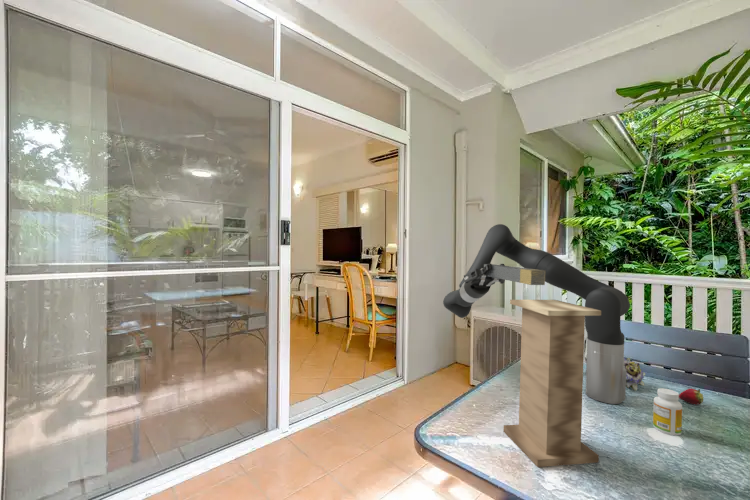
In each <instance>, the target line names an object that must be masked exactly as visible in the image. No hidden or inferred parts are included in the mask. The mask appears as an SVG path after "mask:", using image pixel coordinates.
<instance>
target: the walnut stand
mask: <svg viewBox="0 0 750 500" xmlns="http://www.w3.org/2000/svg"><path fill="white" fill-rule="evenodd" d="M509 305H512V306H513V305H514V306H517V307H519V308H521V309H522V310H521V336H520V337H521V338H520V339H521V341H520V343H521V344H520V373H519V375H520V376H519V403H518V405H519V406H518V407H519V409H518V424H507V425H504V424H503V433H504V434H505V435H506V436H507V437H508V438H509V439H510V440H511V441H512V442H513V443H514V444H515V445H516V446H517V448H519V450H520V451H521V452H522V453H523V454H524V455H525V456H526V457H527V458H528V459H529V460H530V461H531V462H532V463H533V464H534V466H536V467H537V468H544V467H555V466H557V467H559V466H568V465H569V466H571V465H581V464H582V465H583V464H593V463H599V462H600V460H599V459H600V456H599V454H598V453H597V452H595V451H594V450H593V449H592V448H590V447H589V446H587V445H586V444H585V443H584V442H582V423H583V422H582V420H583V416H582V414H583V413H582V412H583V392H584V391H583V388H584V386H583V383H584V357H585V356H584V353H585V351H584V350H585V330H586V328H585V316H599V315H601V310H596V309H592V308H588V307H585V305H584V306H583V305H579V304H574V303H570V302H566V301H562V300H558V299H510V301H509Z"/></svg>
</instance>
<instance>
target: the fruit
mask: <svg viewBox="0 0 750 500" xmlns="http://www.w3.org/2000/svg"><path fill="white" fill-rule="evenodd" d="M679 400H681V401H683V400H684V401H683V402H685V403H688V404H691V405H694V404H695V405H701V404H703V403H704V394H703V393H701V389H700V388H698V389H695V388H687V389H685V390H683V391H682V392H680V393H679ZM695 405H694V406H695Z"/></svg>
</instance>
